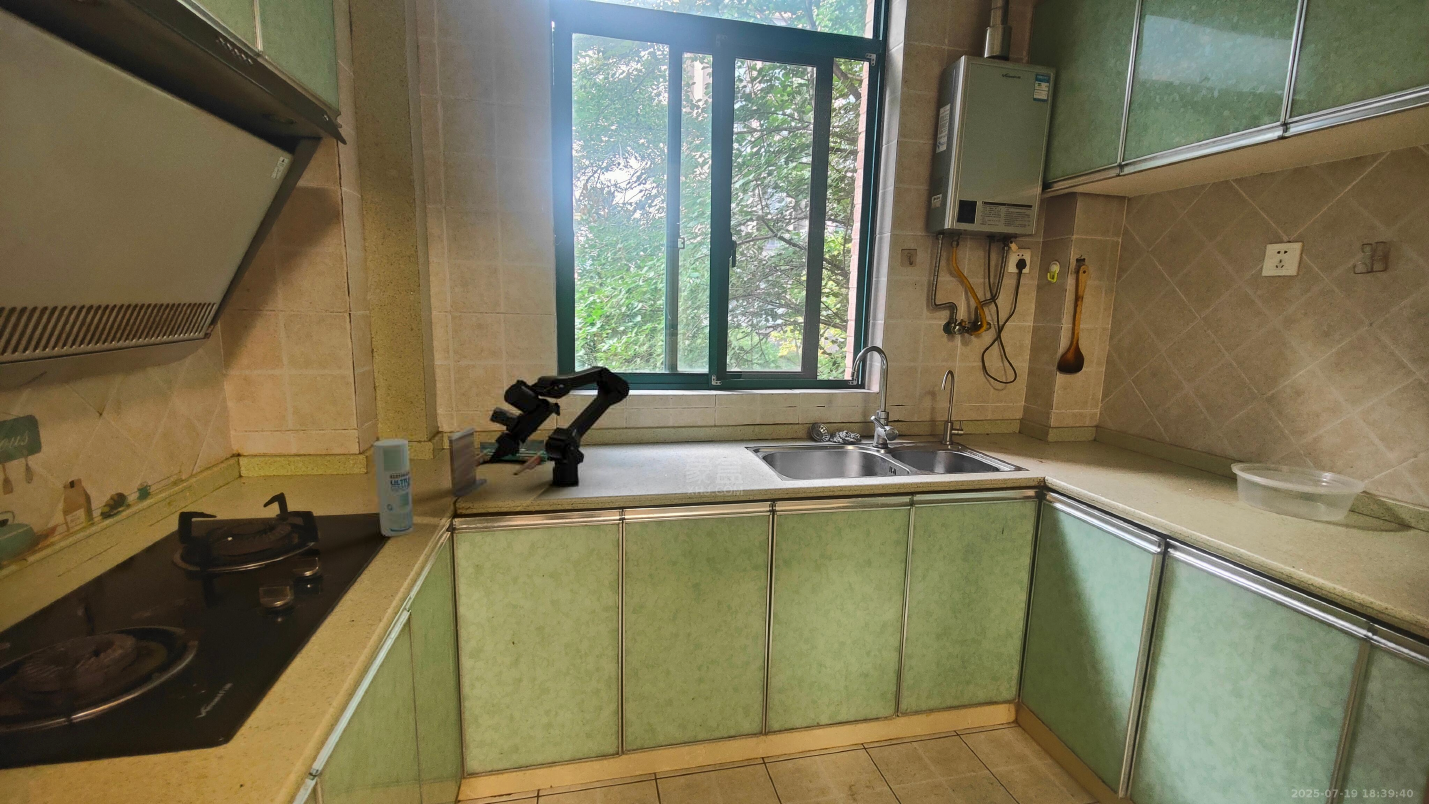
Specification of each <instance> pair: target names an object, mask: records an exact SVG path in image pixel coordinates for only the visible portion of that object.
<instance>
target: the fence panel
mask: <svg viewBox="0 0 1429 804" xmlns="http://www.w3.org/2000/svg"><path fill="white" fill-rule="evenodd" d="M475 429H476V427H473V426H471V427H468V428H464V429H462V430H459V431H457V432H454V433H450V434H448V435H447V441H448V445H449V446H448V449H449V466H450V479H451V480H450V481H451V493H452V494H455V492H456V491H458V490H460V489H461V488H463V487H465V486H467V485H469V484H471V483H472V482H474V481H476V480H477V470H476V469H477V468H476V467H477V466H476V465H475V457H476V451H475V450H476V447H475V431H476V430H475Z"/></svg>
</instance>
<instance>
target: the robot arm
mask: <svg viewBox="0 0 1429 804" xmlns="http://www.w3.org/2000/svg"><path fill="white" fill-rule="evenodd" d="M593 383H594V385H595V386H596V387H597V393H596V396H595V398H594V399H593V400H592V401H591V402H590V403H589V404H588V405H587V406H586V407H585V408H584V410H582V411H581V412H580V413H579V415H577V417H576V418H575V419H574V420H573V421H572V422H571V423H570V424H569V425H568V426H567V427H565V428H564V427H559V426H558V427H555V428H554V430H553V431H552V433H550V434H549V435H547V439H546V441H544V444H545V452H546V454H547V455H548V458H549V459H548V461H549V462H553V463H554V465H553V466H552V483H553V484H554V487H555V486H560V487H574V485H578V486H579V485H580V478H579V465H580V464H582V463H584V458H585V454H584V452H582V451H581V450H580V447H581V441H582V438H583V437H584V436H585V435H586V433H588V431H589V430H590V429H591V428H592V427H593V426H594V424H596V423H597V422H598V421H599V419H600V418H601V417H602V416H603V415H604V414H605V412H607V410H608V409H609V408H610V407H612V406H614V405H616V404H620V403H621V402H623V400H625V399H627V397H629V394H630V388H631V387H630V385H629V383H628V381H627V380H626V379H623V378H622V377H620V376H619V375H617V374H616V373H614V372H613V371H612V370H610V368H608V367H606V366H600V365H593V366H592V367H591V366H590V367H589V368H585V369H582V370H578V371H574V372H571V373H567V374H564V375H556V374H555V375H554V374H553V375H542V376H539V377H538V378H537V381H535V382H534V383H532V384H531V385H530V384H528V383H527V382H526V381H525V380H524V379H517V380H516V381H515V383H513V384H512V385H510V386H509V387H508V388H507V389H505V392H504V394H503V400H504V403H507V404H508V405H510V406H511V407H513V408H514V409H517V410H518V411H519V413H518V414H517V413H514V412H512V411H510V410H506V409H505V408H503V407H499V406H496V407H495V408H494V409H493V411H492V413H491V416H490V418H489V421H490V422H491V423H493V424H494V423H495V424H498V425H500V426H503V427H505V429H504V430H505V431H502V432H501V433H500V434H499V435H498V436H497V437H496V439H495V440H494V442H496V443H497V444H498V447H497V448H496V450H495V451H494V453H493V454H492V456H491V457H490V459H489V460H488V461H490V462H492V463H494V462H496V461H499V460H502V459H501V458H503V457H506V456H508V455H511V456H513V457H515V456H516V455H517V454H518V453H519V452H520V450H521V443H523V444H524V443H525V442H526V441H527V439H530V437H531V436H532V435H533V434H535V433H536V432H537V431H538V430H539V428H540V427H541V426H543V424H544V423H545V422H546V421H547V420H548V419H549V418H550V417H551V416H552V415H553V414H554V415H556V416H558V417H560V416H561V405H560V403H559V402H552V401H550V400H549V399H553V400H560V399H562V398H564V397H566V396H567V395H569V394H570V393H571V391H572V390H575V389H577V388H582V387H584V386H587V385H591V384H593ZM519 441H520V442H521V443H520V442H519Z"/></svg>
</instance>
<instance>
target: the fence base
mask: <svg viewBox="0 0 1429 804" xmlns="http://www.w3.org/2000/svg"><path fill="white" fill-rule="evenodd" d="M487 483H488V479H487V478H477V479H476V481H474V482H472V483H471V484H469V485H467V486H465V487H463V488H461V489H460V490H458V491H456V492H455V493H454V494H455V497H460V498H461V497H462V498H463V497H465V496H467V495H468V494H470V493H472V492H473V491H475V490H477V489H479V488H481V487H482V486H484V485H485V484H487Z"/></svg>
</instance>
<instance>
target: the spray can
mask: <svg viewBox="0 0 1429 804" xmlns="http://www.w3.org/2000/svg"><path fill="white" fill-rule="evenodd" d="M372 445H373V446H372V447H373V456H374V468H375V469H374V470H375V480H376V487H377V488H376V490H377V499H378V500H377V501H378V510H379V511H378V513H379V521H380V524H379V525H380V533H381V535H382V534H383V535H382V536H384V535H385V537H399V536H403V535H406V534H409V533H411V532H412V531H413V530H414V516H413V515H414V514H413V513H414V512H413V501H412V484H411V469H410V453H409V441H408V440H407V439H405V438H404V439H403V438H388V439H387V438H386V439H381V440H377V441H375V442H374V443H373V444H372Z"/></svg>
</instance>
